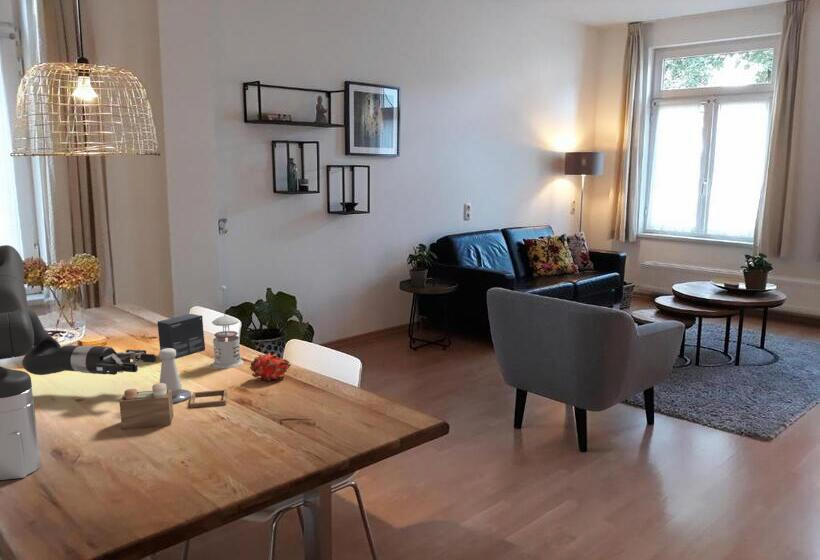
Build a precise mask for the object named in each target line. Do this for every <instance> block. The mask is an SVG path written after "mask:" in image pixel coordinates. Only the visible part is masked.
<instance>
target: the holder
mask: <svg viewBox="0 0 820 560" xmlns="http://www.w3.org/2000/svg"><path fill="white" fill-rule="evenodd" d="M218 395H223V398H222V400H213V401H212V400H211V401H200V402H195V400H196V397H205V396H206V397H208V396H218ZM227 398H228V389H216V390H206V391H193V392H192V393H191V397H190V402H189V409H191V408H202V407H203V408H205V407H215V406H226V404H227Z"/></svg>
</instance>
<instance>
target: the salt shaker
mask: <svg viewBox="0 0 820 560" xmlns="http://www.w3.org/2000/svg"><path fill="white" fill-rule="evenodd" d="M158 356H159V357H158V358H159V359H160V360H161V365H160V366H161V367H160V376H159V383H165V384H166V387H167V389H172V398H174V397H177V396H178V395H179V393H180V390H181V389H182V383H181V378H180V374H179V370H178V368H177V363H176V359H174V358H175V357H176V350H175V349H173V348H166V349H162V350H161V351H160V350H159V352H158Z"/></svg>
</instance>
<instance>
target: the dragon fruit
mask: <svg viewBox="0 0 820 560" xmlns="http://www.w3.org/2000/svg"><path fill="white" fill-rule="evenodd" d="M291 365H292V364H291V363H290V362H289V360H288V359H285V358H282V357H279V356H278V354H277V353H274V352H273V354H272V355H271V353H269V352H268V353H264V355H262V354H261V353H260V354H258V355H257V357H256V356H255V358H254V360H252V361H251V362H250V367H249V368H250V371H251V372H252V374H251V376H252V377H254V378H258V377H260V380H261V381H264V380H265V381H268V382H270V381H271V380H278V381H279V380H282V379H283V378H284V374H285V373H287V372H288V369H289V368H290V367H291Z"/></svg>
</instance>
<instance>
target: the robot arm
mask: <svg viewBox="0 0 820 560" xmlns="http://www.w3.org/2000/svg"><path fill="white" fill-rule="evenodd" d="M24 278H25V266H24V262H23V259H22V257H21V254H20V253H19V252H18V250H17V249H16V248H14V247H13V246H11V245H9V244H5V245H0V360H5V359H13V358H19V357H23V356H24V357H23V358H22V363H21V364H22V367H23V368H24V370H25V371H23V370H17V369H11V368H7V367H3V366H0V481H4V480H11V479H13V480H14V479H24V478H26V477H27V475H29V474H32V473H33V472H36V471H37V470H38V469H39V468H40V467H41V466H42V459H41V452H40V444H39V436H38V428H37V427H38V426H37V420H36V418H37V417H36V412H35V411H36V410H35V403H34V394H33V393H34V392H33V386H32V384H33V383H32V377H31V375H30V374H33V375H35V376H44V375H45V376H47V375H51V374H57V373H61V372H78V373H82V374H92V375H93V374H97V375H113V376H115V375H117V374H118V373H121V374H122V373H137V372H138V363H152V364H153V363H154V364H155V363H156V362H157V355H156V354H155V353H147V350H145V349H126V351H125V352H123V351H120V352H116V351H115V349H114V348H113V347H112V346H111V347H110V346H101V345H100V346H99V345H72V344H71V345H69V344H68V345H62V346H61V344H60V343H59V342H58V341H57V340H56V339H55V338H54V337H53V336H52V335H50V333H49V332H48V331H47V330H46V329H45V327H44V326H43V323H42V322H41V319H40V318H39V316H38V313H36V312H35V311H34V310H33V308H31V307H30V306H28V299H27V298H28V297H27V290H26V288H25V282H24ZM131 360H132V361H131ZM26 371H27V372H26ZM29 373H30V374H29Z"/></svg>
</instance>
